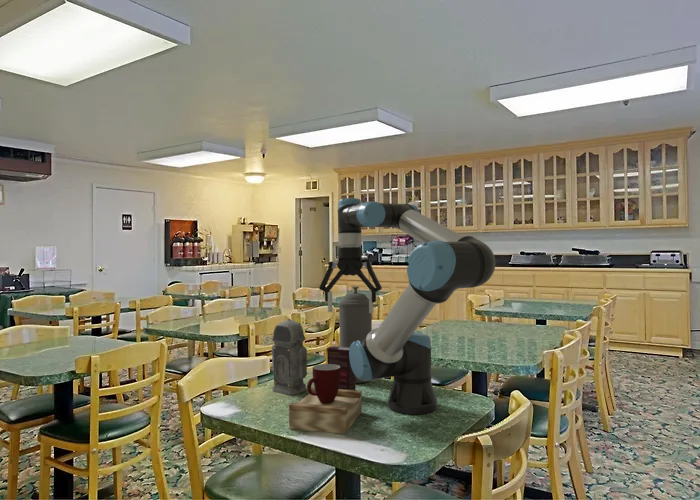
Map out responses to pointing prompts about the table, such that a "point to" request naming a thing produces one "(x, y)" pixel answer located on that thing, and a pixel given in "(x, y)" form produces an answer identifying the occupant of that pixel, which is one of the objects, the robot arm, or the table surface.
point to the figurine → (289, 358)
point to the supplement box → (342, 366)
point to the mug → (325, 382)
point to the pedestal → (326, 412)
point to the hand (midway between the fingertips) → (350, 312)
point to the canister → (354, 319)
